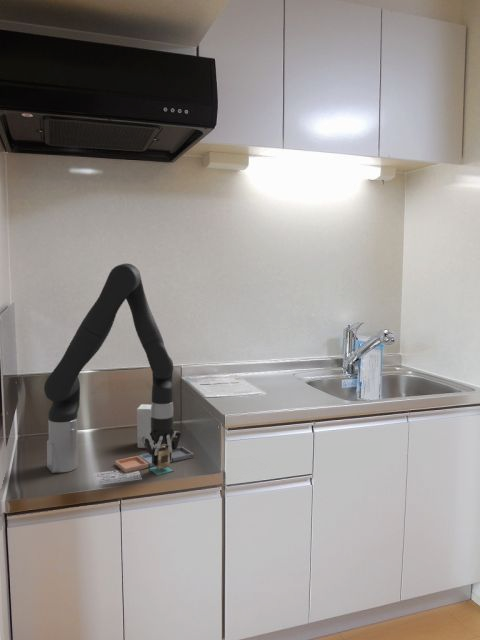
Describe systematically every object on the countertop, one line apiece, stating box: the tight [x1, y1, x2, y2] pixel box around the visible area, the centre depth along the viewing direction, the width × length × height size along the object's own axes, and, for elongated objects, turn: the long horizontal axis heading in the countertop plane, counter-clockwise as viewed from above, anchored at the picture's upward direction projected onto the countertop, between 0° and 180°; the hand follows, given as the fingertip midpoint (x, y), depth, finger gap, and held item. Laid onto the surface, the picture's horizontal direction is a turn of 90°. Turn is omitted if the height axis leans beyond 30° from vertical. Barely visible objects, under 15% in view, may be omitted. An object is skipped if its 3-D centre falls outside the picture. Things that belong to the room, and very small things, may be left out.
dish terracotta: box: [114, 455, 149, 474], centre depth 180 cm, size 8×8×2 cm
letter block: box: [154, 445, 171, 469], centre depth 177 cm, size 4×4×6 cm
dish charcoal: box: [171, 446, 195, 463], centre depth 191 cm, size 8×8×2 cm
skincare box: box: [136, 403, 153, 449], centre depth 200 cm, size 8×7×16 cm
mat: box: [148, 467, 174, 476], centre depth 177 cm, size 6×6×1 cm
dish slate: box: [138, 453, 173, 468], centre depth 185 cm, size 8×8×2 cm
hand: (161, 463), depth 177 cm, fingers closed on letter block, 4 cm apart
